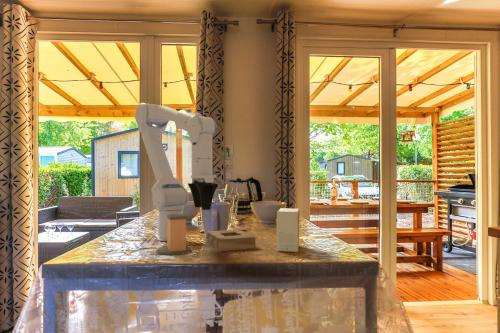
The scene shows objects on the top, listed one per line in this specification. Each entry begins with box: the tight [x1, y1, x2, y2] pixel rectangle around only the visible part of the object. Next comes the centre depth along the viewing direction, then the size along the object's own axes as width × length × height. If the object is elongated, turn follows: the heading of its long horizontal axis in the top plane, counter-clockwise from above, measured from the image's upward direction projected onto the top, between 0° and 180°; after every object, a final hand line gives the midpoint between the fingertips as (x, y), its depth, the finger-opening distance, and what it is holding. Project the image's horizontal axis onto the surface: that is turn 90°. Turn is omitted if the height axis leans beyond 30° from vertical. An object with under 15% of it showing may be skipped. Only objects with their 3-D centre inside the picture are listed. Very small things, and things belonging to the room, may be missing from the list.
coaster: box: [155, 245, 192, 256], centre depth 87 cm, size 9×9×1 cm
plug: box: [166, 213, 187, 251], centre depth 87 cm, size 4×4×9 cm
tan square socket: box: [206, 228, 256, 252], centre depth 95 cm, size 12×10×3 cm
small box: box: [276, 207, 300, 253], centre depth 91 cm, size 8×6×10 cm
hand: (202, 208), depth 93 cm, fingers open, 7 cm apart
